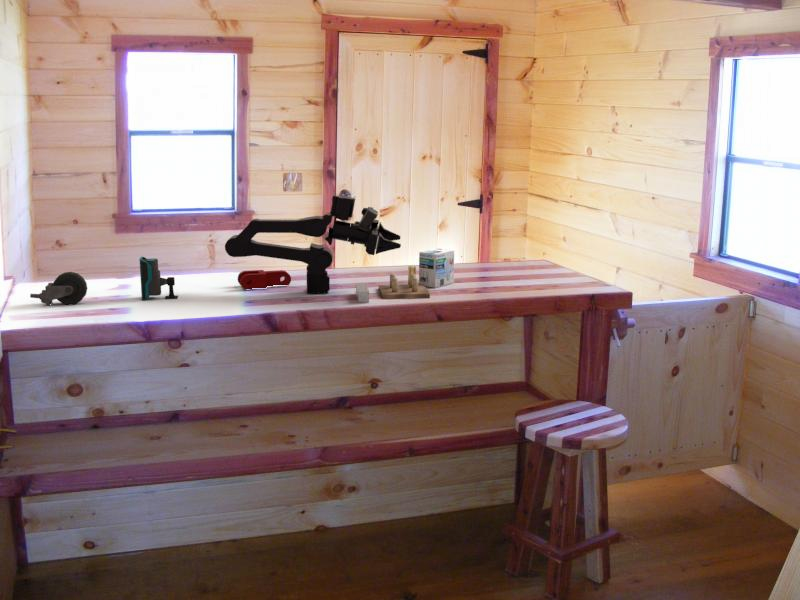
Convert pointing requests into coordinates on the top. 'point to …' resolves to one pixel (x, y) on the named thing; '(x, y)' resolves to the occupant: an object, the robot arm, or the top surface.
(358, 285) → the grey rectangular block
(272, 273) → the mechanical linkage
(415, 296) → the peg board
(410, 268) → the brass pin
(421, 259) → the light bulb box
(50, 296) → the caster wheel
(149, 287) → the surveillance camera
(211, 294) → the top surface
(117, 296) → the top surface
